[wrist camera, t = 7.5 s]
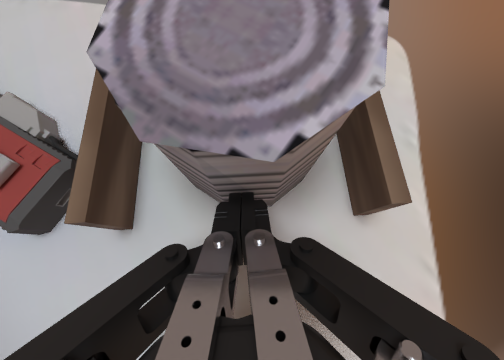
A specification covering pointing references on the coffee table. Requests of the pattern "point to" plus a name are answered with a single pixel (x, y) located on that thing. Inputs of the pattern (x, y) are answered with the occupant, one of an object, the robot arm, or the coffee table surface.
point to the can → (241, 82)
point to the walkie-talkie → (32, 169)
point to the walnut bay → (129, 150)
